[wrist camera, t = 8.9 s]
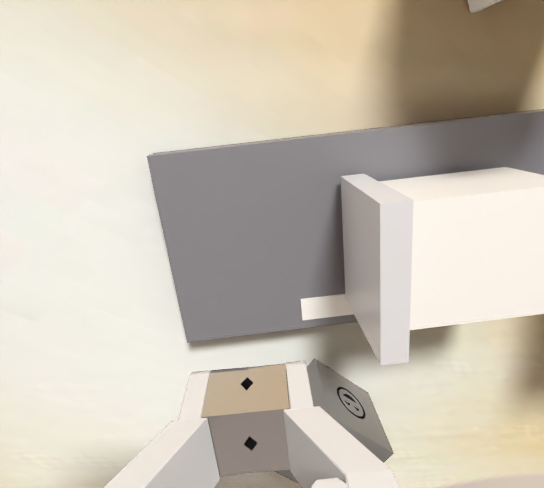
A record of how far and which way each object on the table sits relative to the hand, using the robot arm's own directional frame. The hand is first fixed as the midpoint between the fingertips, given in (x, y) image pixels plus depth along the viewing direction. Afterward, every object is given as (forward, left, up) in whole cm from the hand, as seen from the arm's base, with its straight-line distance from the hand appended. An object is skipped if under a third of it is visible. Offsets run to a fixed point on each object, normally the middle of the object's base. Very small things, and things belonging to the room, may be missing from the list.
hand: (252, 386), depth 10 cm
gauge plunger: (-11, +1, -11) cm, 15 cm away
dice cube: (-3, +13, -13) cm, 18 cm away
